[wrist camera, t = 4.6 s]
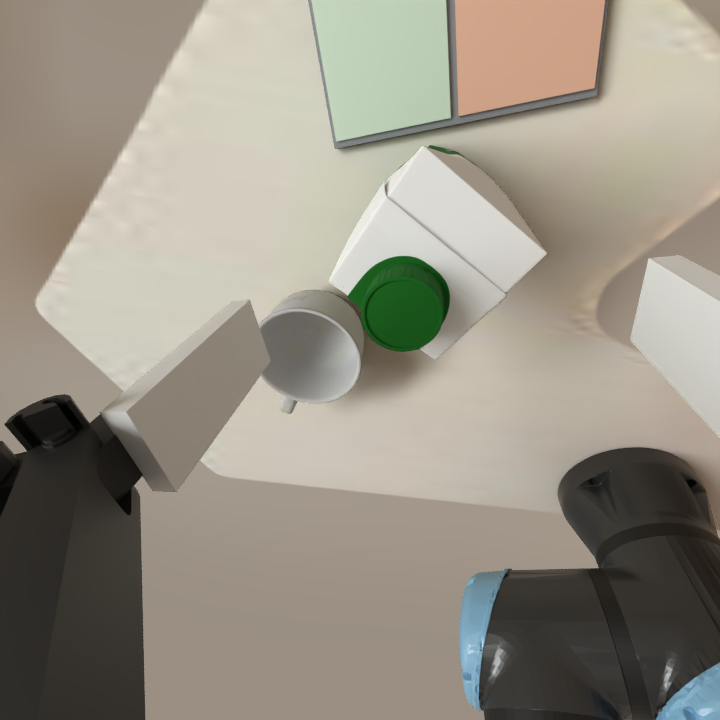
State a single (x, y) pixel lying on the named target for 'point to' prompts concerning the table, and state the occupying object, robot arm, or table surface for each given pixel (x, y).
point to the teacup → (312, 348)
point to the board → (451, 60)
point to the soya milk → (434, 253)
